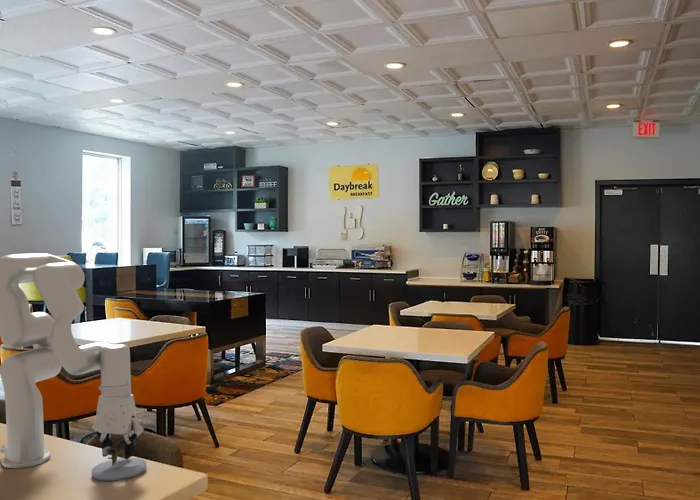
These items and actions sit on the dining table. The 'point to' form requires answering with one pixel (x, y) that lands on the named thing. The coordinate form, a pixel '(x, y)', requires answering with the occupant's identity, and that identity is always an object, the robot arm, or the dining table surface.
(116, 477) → the smooth grey pebble
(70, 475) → the dining table surface
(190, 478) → the dining table surface
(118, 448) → the eagle figurine
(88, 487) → the dining table surface
